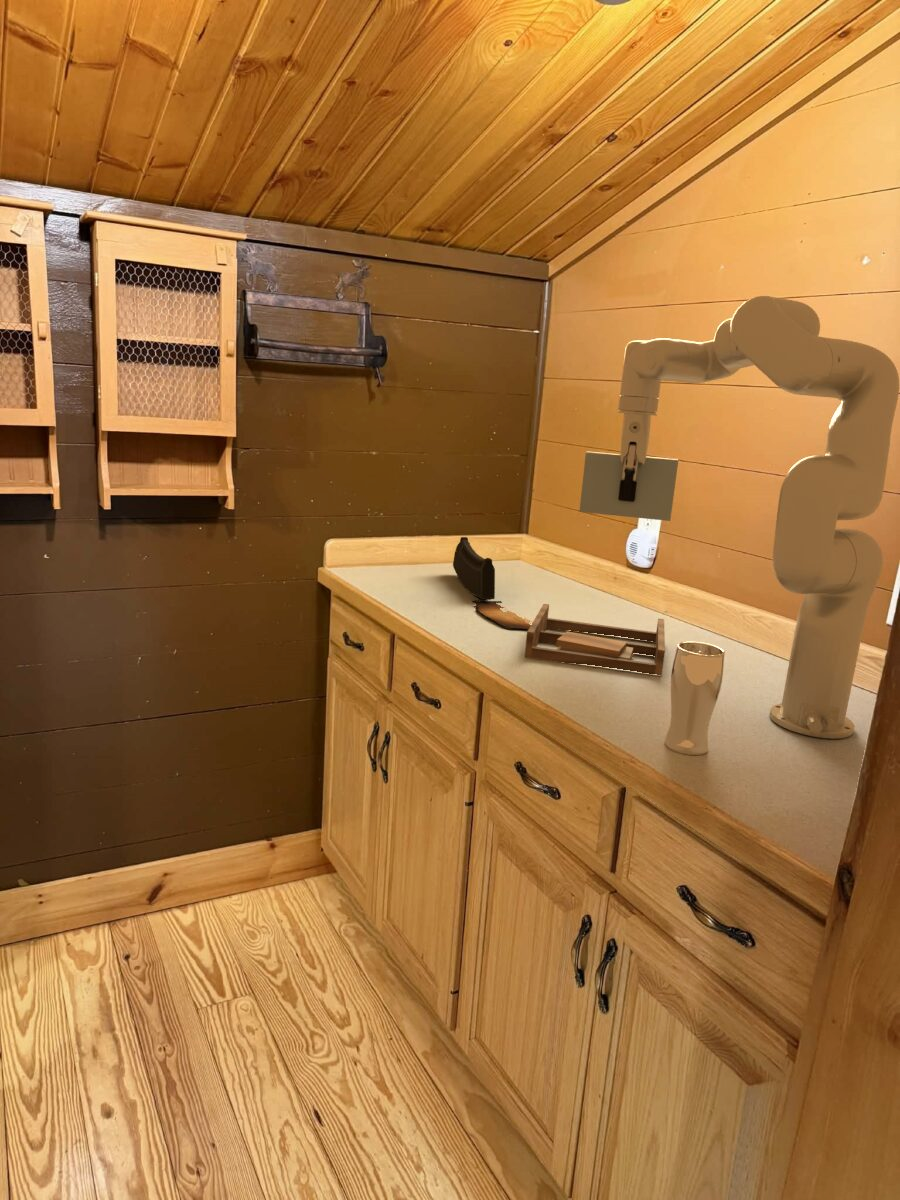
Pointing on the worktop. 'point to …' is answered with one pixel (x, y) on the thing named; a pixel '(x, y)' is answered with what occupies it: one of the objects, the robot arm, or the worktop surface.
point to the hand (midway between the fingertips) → (626, 499)
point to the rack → (543, 622)
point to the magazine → (474, 571)
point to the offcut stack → (594, 645)
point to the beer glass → (693, 695)
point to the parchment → (501, 615)
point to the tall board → (607, 473)
